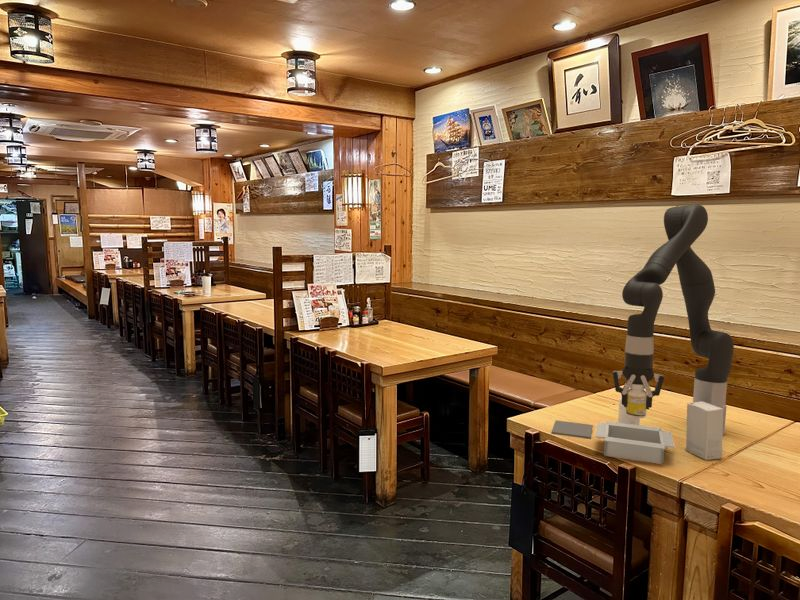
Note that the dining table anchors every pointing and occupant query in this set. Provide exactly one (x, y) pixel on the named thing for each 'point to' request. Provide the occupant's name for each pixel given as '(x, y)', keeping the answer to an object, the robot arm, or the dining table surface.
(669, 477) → the dining table surface
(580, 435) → the mat
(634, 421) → the can
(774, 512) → the dining table surface
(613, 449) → the carton
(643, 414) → the supplement bottle
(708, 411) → the skincare box
